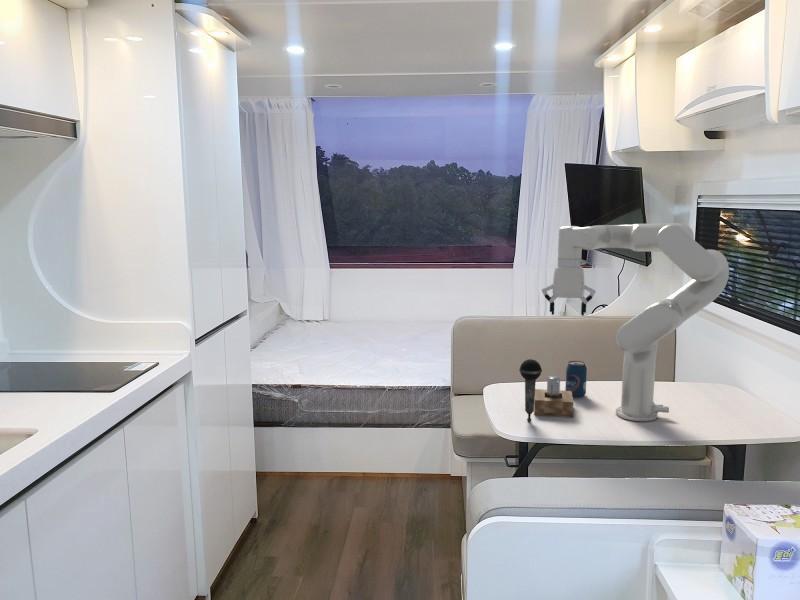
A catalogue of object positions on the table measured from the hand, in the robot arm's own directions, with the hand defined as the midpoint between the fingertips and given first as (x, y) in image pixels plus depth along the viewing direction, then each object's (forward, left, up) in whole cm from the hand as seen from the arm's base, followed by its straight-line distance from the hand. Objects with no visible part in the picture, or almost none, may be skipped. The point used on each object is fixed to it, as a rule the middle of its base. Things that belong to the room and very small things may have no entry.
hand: (567, 314), depth 213 cm
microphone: (+11, +23, -31) cm, 40 cm away
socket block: (+4, +10, -30) cm, 32 cm away
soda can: (-4, -7, -31) cm, 32 cm away
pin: (+4, +10, -29) cm, 31 cm away
